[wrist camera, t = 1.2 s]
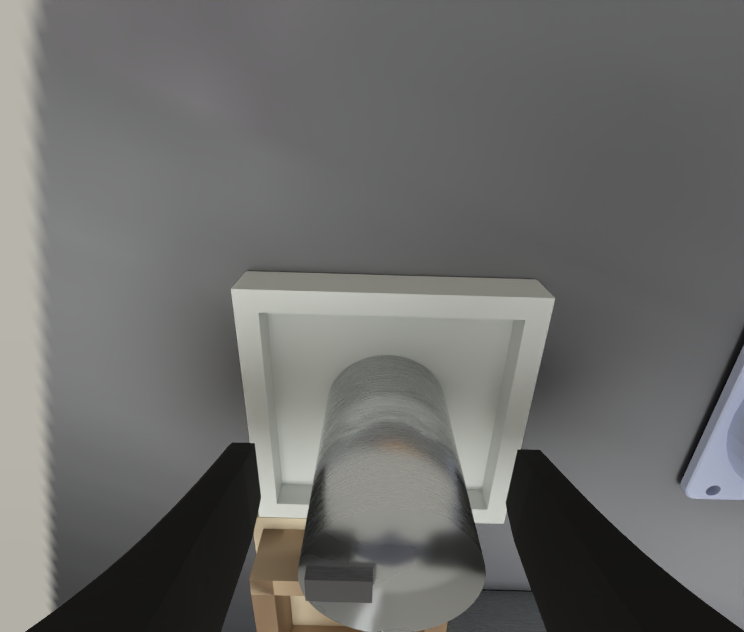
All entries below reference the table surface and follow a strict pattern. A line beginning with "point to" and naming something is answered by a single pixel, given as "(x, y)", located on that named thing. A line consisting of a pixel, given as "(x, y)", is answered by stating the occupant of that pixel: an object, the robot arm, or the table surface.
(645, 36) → the table surface
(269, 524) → the wooden compartment tray
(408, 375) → the cylinder
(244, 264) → the table surface
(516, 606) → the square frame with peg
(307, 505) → the square tray
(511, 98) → the table surface
